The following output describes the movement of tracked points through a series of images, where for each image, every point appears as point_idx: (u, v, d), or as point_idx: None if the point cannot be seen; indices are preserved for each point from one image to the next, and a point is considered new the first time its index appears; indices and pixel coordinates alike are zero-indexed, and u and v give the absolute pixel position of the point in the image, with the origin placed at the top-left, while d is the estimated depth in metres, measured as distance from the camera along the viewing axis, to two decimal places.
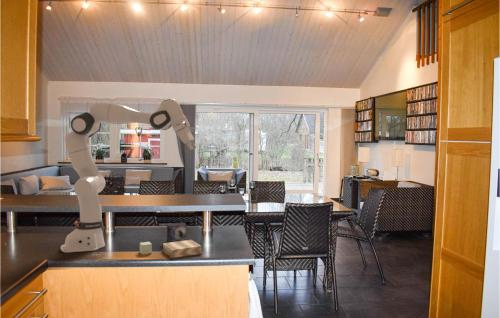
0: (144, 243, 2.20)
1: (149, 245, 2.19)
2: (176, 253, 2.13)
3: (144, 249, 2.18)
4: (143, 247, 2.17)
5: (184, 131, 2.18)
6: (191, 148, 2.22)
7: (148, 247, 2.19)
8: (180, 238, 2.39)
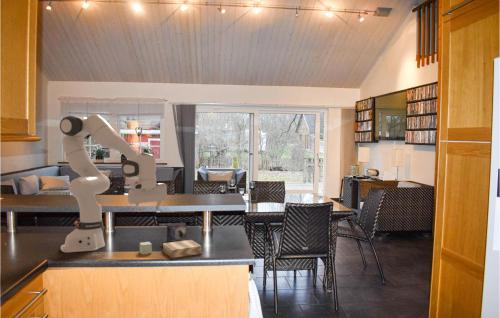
0: (144, 243, 2.20)
1: (149, 245, 2.19)
2: (176, 253, 2.13)
3: (144, 249, 2.18)
4: (143, 247, 2.17)
5: (130, 193, 2.12)
6: (137, 210, 2.16)
7: (148, 247, 2.19)
8: (180, 238, 2.39)
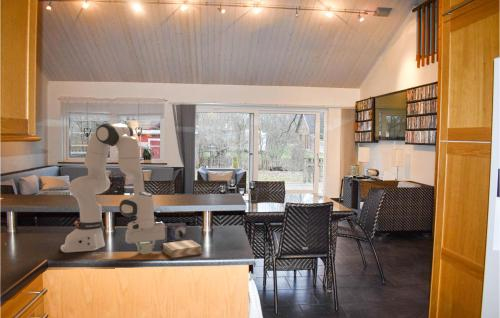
0: (144, 243, 2.20)
1: (149, 245, 2.19)
2: (176, 253, 2.13)
3: (144, 249, 2.18)
4: (143, 247, 2.17)
5: (127, 233, 2.14)
6: (138, 249, 2.19)
7: (148, 247, 2.19)
8: (180, 238, 2.39)
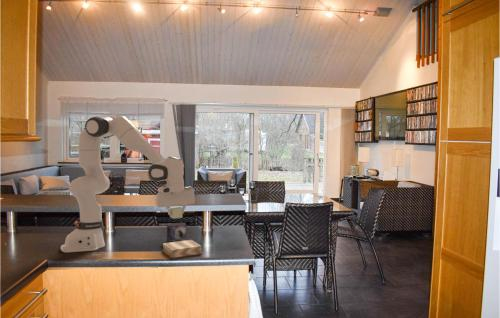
0: (174, 207, 2.20)
1: (180, 209, 2.18)
2: (176, 253, 2.13)
3: (175, 213, 2.17)
4: (174, 211, 2.17)
5: (158, 196, 2.14)
6: (168, 213, 2.18)
7: (179, 211, 2.18)
8: (180, 238, 2.39)
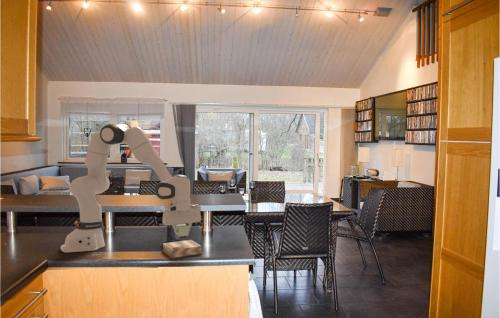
0: (181, 225, 2.21)
1: (186, 227, 2.19)
2: (176, 253, 2.13)
3: (181, 231, 2.18)
4: (180, 229, 2.18)
5: (165, 215, 2.15)
6: (175, 231, 2.19)
7: (185, 229, 2.19)
8: (180, 238, 2.39)
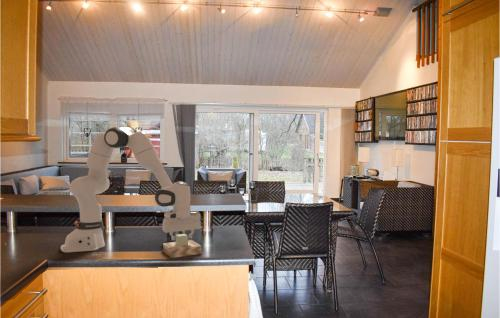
0: (180, 235, 2.21)
1: (185, 237, 2.20)
2: (176, 253, 2.13)
3: (181, 241, 2.19)
4: (180, 239, 2.18)
5: (165, 222, 2.15)
6: (172, 238, 2.19)
7: (184, 239, 2.20)
8: None
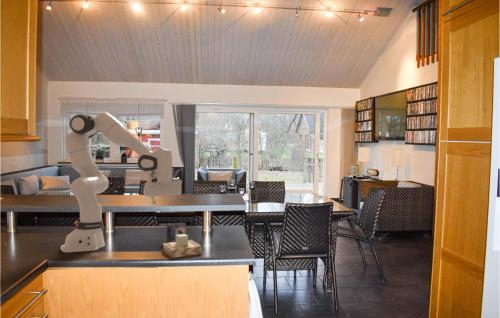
0: (180, 235, 2.21)
1: (185, 237, 2.20)
2: (176, 253, 2.13)
3: (181, 241, 2.19)
4: (180, 239, 2.18)
5: (146, 186, 2.22)
6: (152, 202, 2.26)
7: (184, 239, 2.20)
8: None
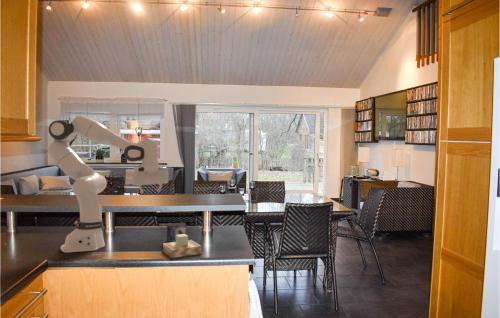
0: (180, 235, 2.21)
1: (185, 237, 2.20)
2: (176, 253, 2.13)
3: (181, 241, 2.19)
4: (180, 239, 2.18)
5: (133, 175, 2.28)
6: (140, 191, 2.32)
7: (184, 239, 2.20)
8: None
